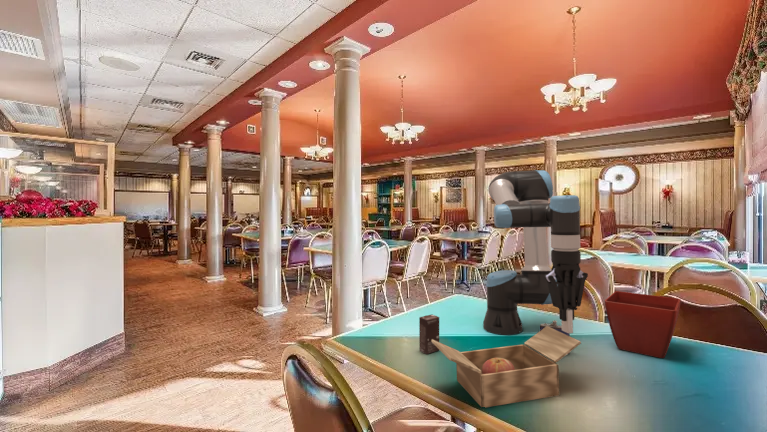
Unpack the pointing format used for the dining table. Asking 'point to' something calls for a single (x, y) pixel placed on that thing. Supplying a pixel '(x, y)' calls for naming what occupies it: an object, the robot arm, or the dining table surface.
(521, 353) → the carton
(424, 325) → the box
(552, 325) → the flask
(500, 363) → the apple
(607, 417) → the dining table surface
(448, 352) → the flap
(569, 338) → the flap
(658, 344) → the plant pot
